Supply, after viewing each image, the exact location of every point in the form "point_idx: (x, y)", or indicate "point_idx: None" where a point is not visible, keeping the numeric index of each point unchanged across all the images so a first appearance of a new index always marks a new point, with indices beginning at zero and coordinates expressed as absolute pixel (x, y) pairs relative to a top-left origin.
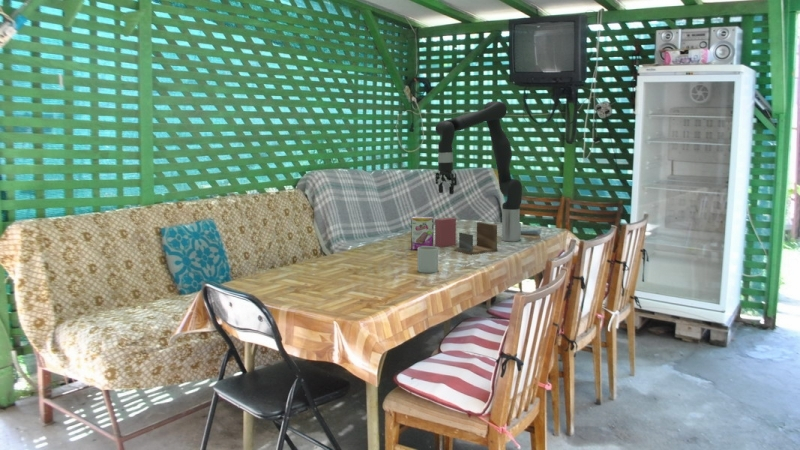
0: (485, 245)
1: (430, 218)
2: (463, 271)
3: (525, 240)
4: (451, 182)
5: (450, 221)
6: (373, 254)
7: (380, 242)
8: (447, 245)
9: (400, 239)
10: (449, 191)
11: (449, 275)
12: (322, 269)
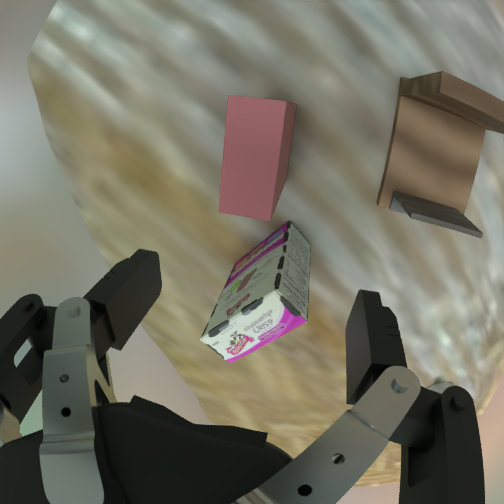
0: (451, 112)
1: (296, 327)
2: (492, 361)
3: None
4: (404, 467)
5: (282, 142)
6: (238, 366)
7: (104, 252)
8: (290, 146)
9: (88, 178)
10: (350, 351)
11: (477, 387)
12: (285, 446)
